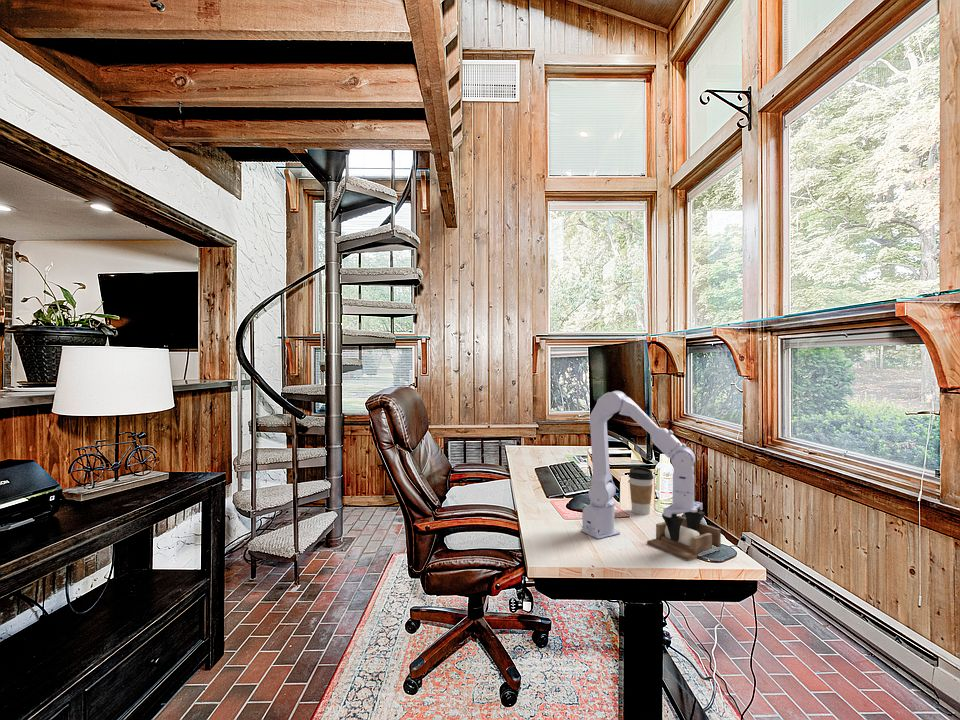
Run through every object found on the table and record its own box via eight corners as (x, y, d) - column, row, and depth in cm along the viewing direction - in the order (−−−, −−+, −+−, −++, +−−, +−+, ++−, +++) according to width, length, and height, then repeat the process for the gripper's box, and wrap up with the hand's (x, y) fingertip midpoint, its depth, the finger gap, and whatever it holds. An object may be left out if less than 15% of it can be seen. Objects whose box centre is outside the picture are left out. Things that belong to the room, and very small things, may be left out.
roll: (687, 548, 131) (691, 529, 131) (662, 537, 138) (666, 520, 139) (698, 550, 133) (702, 532, 134) (673, 540, 140) (676, 523, 141)
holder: (687, 560, 126) (688, 538, 126) (647, 543, 138) (647, 522, 138) (720, 550, 133) (720, 529, 133) (679, 535, 145) (679, 515, 145)
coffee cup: (649, 508, 171) (650, 467, 171) (656, 516, 162) (656, 472, 162) (626, 507, 172) (626, 466, 172) (631, 515, 163) (631, 472, 163)
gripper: (678, 497, 129) (678, 547, 129) (712, 490, 136) (712, 537, 136) (657, 491, 135) (657, 538, 135) (690, 484, 142) (690, 530, 142)
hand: (683, 537), depth 136 cm, fingers open, 7 cm apart
